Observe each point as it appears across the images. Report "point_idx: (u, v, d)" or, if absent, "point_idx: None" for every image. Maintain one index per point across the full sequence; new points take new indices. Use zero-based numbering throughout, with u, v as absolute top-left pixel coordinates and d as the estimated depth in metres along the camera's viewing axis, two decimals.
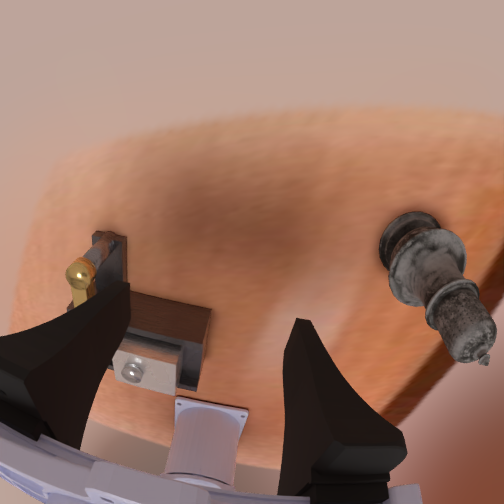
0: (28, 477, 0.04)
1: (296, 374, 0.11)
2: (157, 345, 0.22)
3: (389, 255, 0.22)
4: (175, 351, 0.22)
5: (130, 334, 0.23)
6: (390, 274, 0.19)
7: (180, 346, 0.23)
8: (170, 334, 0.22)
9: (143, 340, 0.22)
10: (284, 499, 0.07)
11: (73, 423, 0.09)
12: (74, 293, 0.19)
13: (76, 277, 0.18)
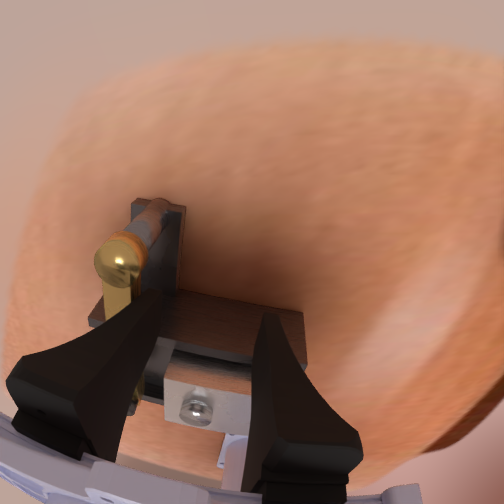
0: (28, 477, 0.04)
1: (260, 369, 0.11)
2: (236, 370, 0.15)
3: None
4: None
5: (191, 355, 0.15)
6: None
7: None
8: None
9: (213, 363, 0.15)
10: None
11: (111, 437, 0.09)
12: (108, 293, 0.12)
13: (114, 265, 0.11)
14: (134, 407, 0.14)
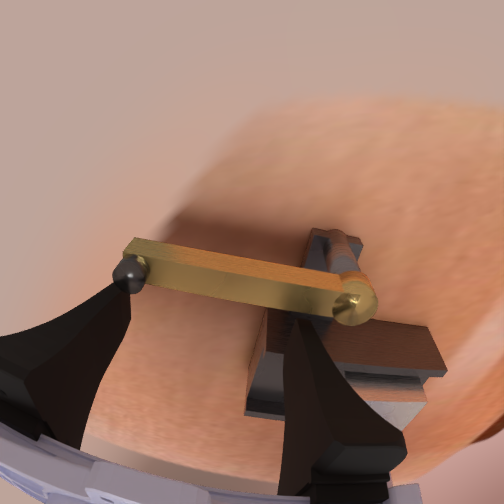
0: (28, 477, 0.04)
1: (296, 374, 0.11)
2: (397, 382, 0.16)
3: None
4: (417, 385, 0.16)
5: (360, 374, 0.16)
6: None
7: (418, 378, 0.16)
8: (415, 365, 0.16)
9: (379, 379, 0.16)
10: (284, 499, 0.07)
11: (73, 423, 0.09)
12: (325, 294, 0.11)
13: (357, 307, 0.12)
14: (133, 290, 0.11)
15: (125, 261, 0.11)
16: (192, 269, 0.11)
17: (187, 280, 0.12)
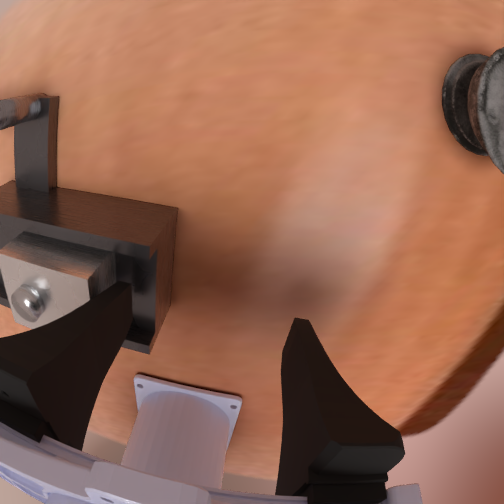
0: (28, 477, 0.04)
1: (294, 374, 0.11)
2: (68, 252, 0.12)
3: (459, 110, 0.11)
4: (94, 261, 0.12)
5: (34, 238, 0.12)
6: (479, 105, 0.09)
7: (105, 255, 0.12)
8: (97, 231, 0.12)
9: (49, 245, 0.12)
10: (284, 499, 0.07)
11: (75, 424, 0.09)
12: None
13: None
14: None
15: None
16: None
17: None
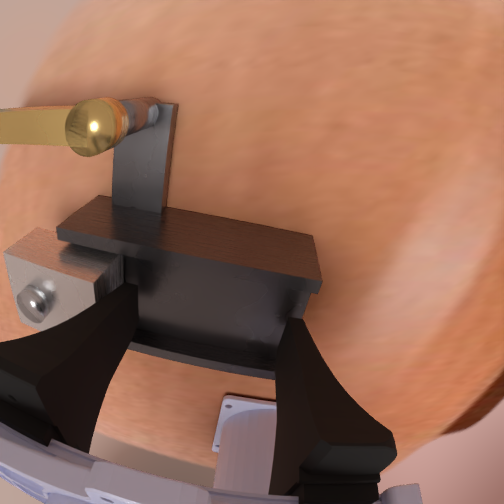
0: (28, 477, 0.04)
1: (287, 373, 0.11)
2: (75, 254, 0.12)
3: None
4: (101, 264, 0.12)
5: (41, 238, 0.12)
6: None
7: (113, 258, 0.12)
8: (260, 265, 0.12)
9: (56, 246, 0.12)
10: (284, 499, 0.07)
11: (82, 427, 0.09)
12: (55, 116, 0.08)
13: (89, 128, 0.08)
14: None
15: None
16: None
17: None
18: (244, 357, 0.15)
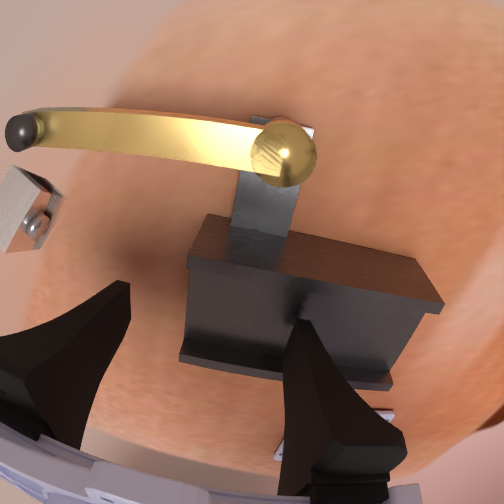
0: (28, 477, 0.04)
1: (296, 374, 0.11)
2: (47, 184, 0.17)
3: None
4: (56, 189, 0.18)
5: (28, 175, 0.14)
6: None
7: (52, 184, 0.18)
8: (399, 292, 0.12)
9: (38, 180, 0.16)
10: (284, 499, 0.07)
11: (73, 423, 0.09)
12: (238, 134, 0.08)
13: (287, 156, 0.09)
14: None
15: (18, 115, 0.08)
16: (81, 117, 0.08)
17: (77, 132, 0.08)
18: (357, 373, 0.15)
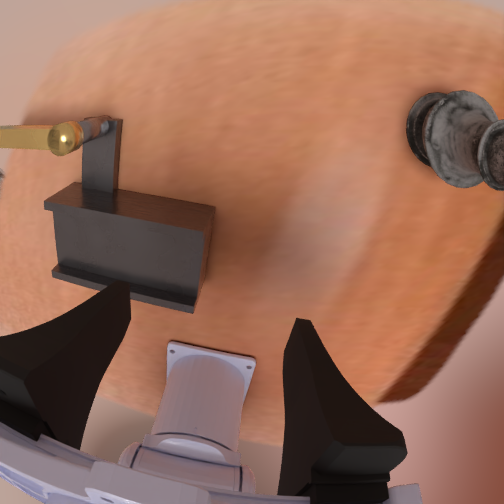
0: (28, 477, 0.04)
1: (296, 374, 0.11)
2: None
3: (418, 137, 0.18)
4: None
5: None
6: (426, 137, 0.15)
7: None
8: (164, 222, 0.18)
9: None
10: (284, 499, 0.07)
11: (73, 423, 0.09)
12: (42, 132, 0.14)
13: (60, 140, 0.14)
14: None
15: None
16: None
17: None
18: (165, 294, 0.21)
